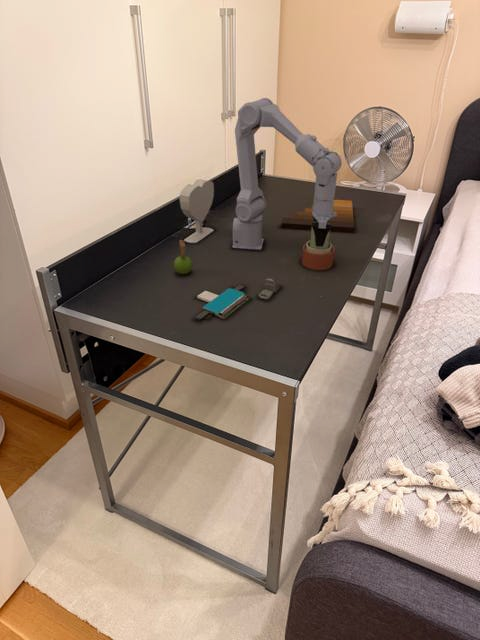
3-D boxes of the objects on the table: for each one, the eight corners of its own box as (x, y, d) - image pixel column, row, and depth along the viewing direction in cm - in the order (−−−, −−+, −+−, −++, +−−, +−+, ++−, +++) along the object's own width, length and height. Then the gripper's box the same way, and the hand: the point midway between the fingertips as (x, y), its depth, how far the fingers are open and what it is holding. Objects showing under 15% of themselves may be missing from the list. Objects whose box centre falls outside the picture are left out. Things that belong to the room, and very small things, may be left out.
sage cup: (309, 249, 141) (311, 227, 137) (310, 242, 145) (312, 220, 141) (328, 251, 140) (330, 229, 136) (328, 243, 145) (330, 221, 141)
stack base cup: (301, 269, 142) (302, 254, 140) (302, 254, 150) (303, 240, 147) (333, 271, 141) (335, 256, 138) (332, 256, 149) (334, 242, 146)
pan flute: (281, 228, 168) (353, 233, 164) (282, 219, 166) (354, 224, 162) (286, 203, 188) (350, 207, 185) (287, 195, 186) (351, 199, 183)
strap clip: (267, 301, 127) (268, 287, 125) (257, 298, 128) (257, 284, 126) (281, 287, 133) (281, 273, 131) (271, 284, 135) (272, 271, 132)
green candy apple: (176, 280, 136) (173, 242, 130) (173, 270, 142) (170, 232, 135) (195, 277, 138) (192, 239, 131) (191, 267, 143) (188, 230, 136)
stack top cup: (304, 267, 143) (306, 249, 140) (305, 256, 149) (306, 238, 146) (329, 269, 142) (332, 250, 139) (329, 258, 148) (331, 239, 145)
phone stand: (222, 280, 136) (222, 275, 135) (257, 292, 131) (257, 287, 130) (177, 311, 123) (177, 306, 122) (214, 326, 117) (214, 321, 116)
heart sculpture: (204, 225, 169) (202, 175, 159) (216, 228, 167) (215, 177, 157) (180, 241, 158) (176, 189, 148) (193, 244, 156) (190, 191, 146)
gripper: (339, 207, 128) (333, 253, 135) (337, 189, 140) (332, 232, 147) (313, 206, 129) (308, 251, 136) (313, 188, 140) (309, 231, 148)
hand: (319, 241), depth 142 cm, fingers closed on sage cup, 5 cm apart
